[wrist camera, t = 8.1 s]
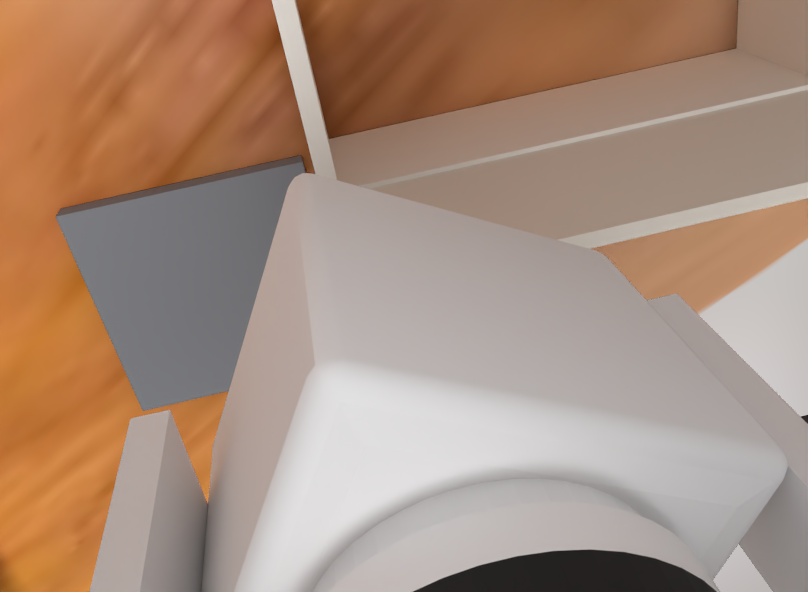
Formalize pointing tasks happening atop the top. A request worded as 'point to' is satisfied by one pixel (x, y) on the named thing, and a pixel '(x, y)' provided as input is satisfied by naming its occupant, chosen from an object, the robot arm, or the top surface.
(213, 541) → the medicine bottle
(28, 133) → the top surface
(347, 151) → the carton
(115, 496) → the robot arm
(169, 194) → the mat
